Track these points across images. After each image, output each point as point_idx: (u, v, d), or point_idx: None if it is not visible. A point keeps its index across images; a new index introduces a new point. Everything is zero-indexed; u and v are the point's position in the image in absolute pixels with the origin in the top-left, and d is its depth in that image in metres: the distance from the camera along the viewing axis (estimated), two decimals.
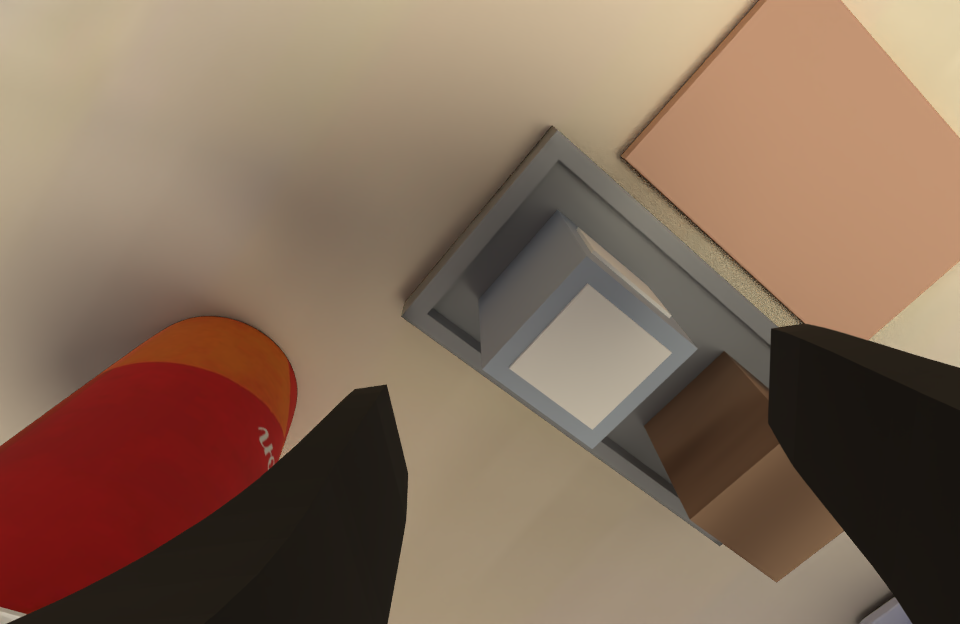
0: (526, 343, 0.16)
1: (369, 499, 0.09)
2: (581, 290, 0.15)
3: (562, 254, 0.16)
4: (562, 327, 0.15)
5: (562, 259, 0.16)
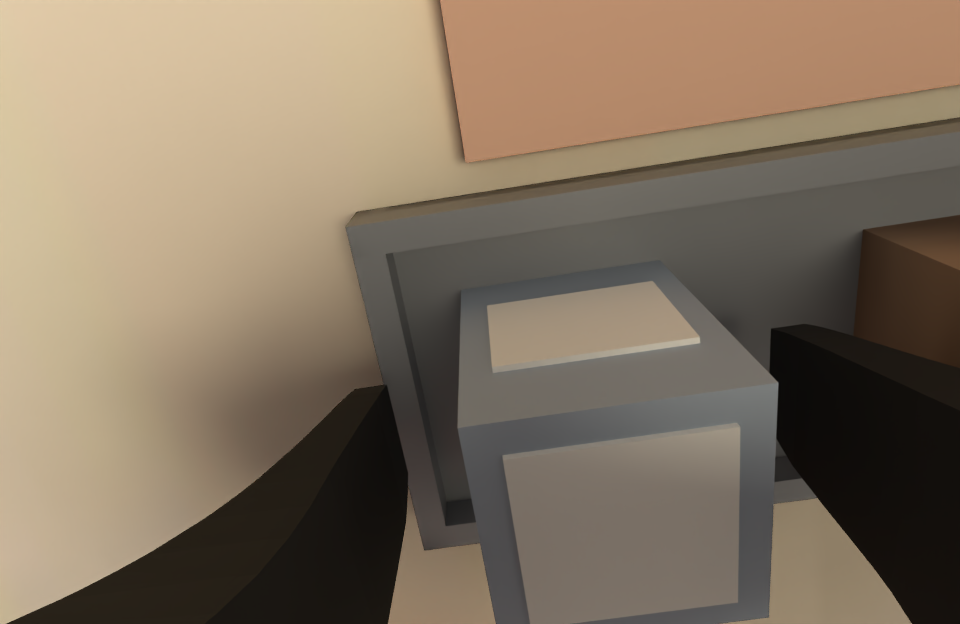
0: (517, 583, 0.09)
1: (370, 499, 0.09)
2: (504, 471, 0.08)
3: None
4: (537, 533, 0.08)
5: None
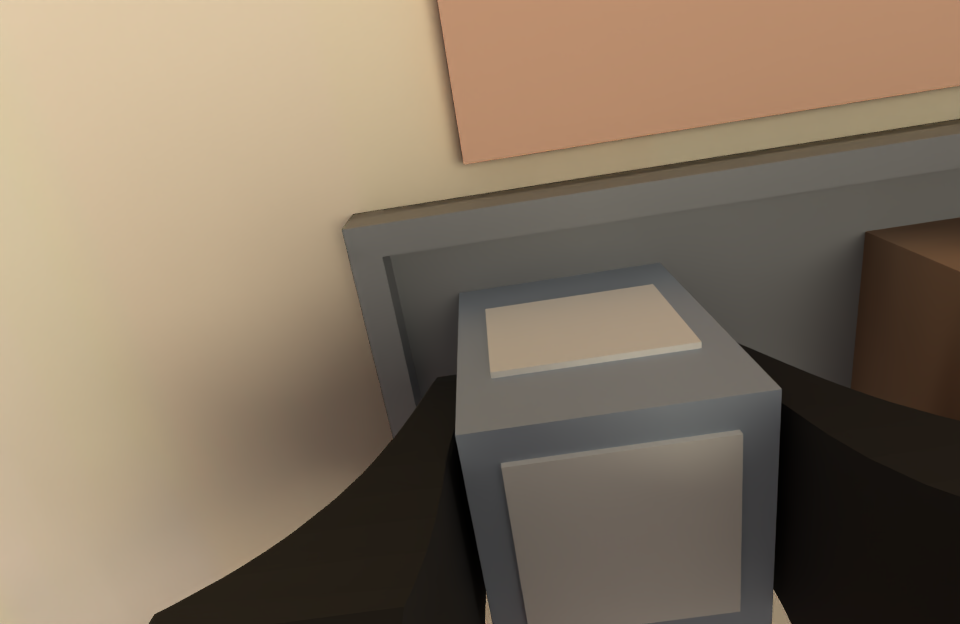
0: (516, 592, 0.08)
1: None
2: (502, 479, 0.08)
3: None
4: (536, 541, 0.08)
5: None
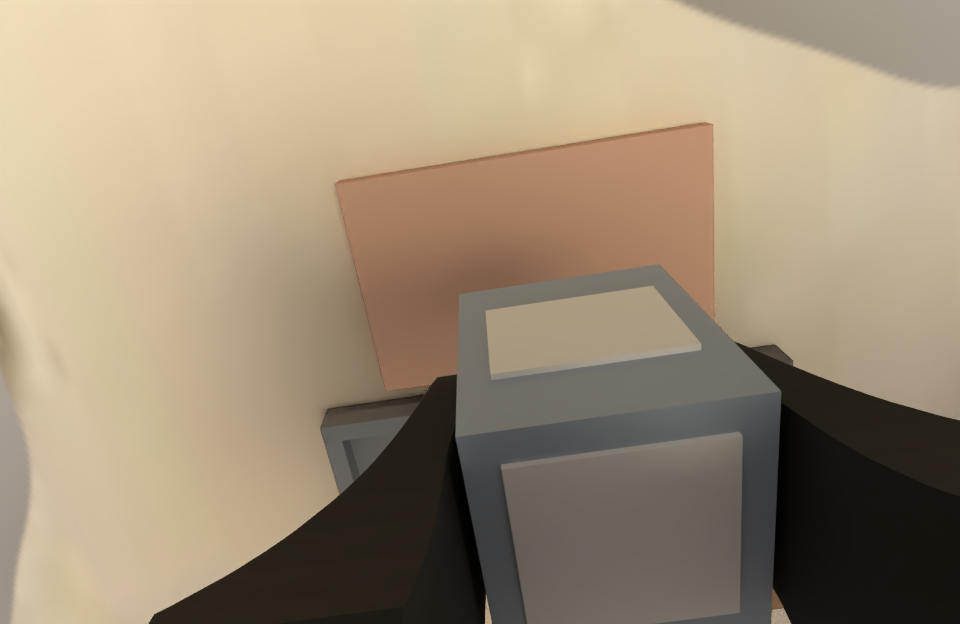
0: (515, 593, 0.09)
1: None
2: (503, 480, 0.08)
3: None
4: (536, 543, 0.08)
5: None
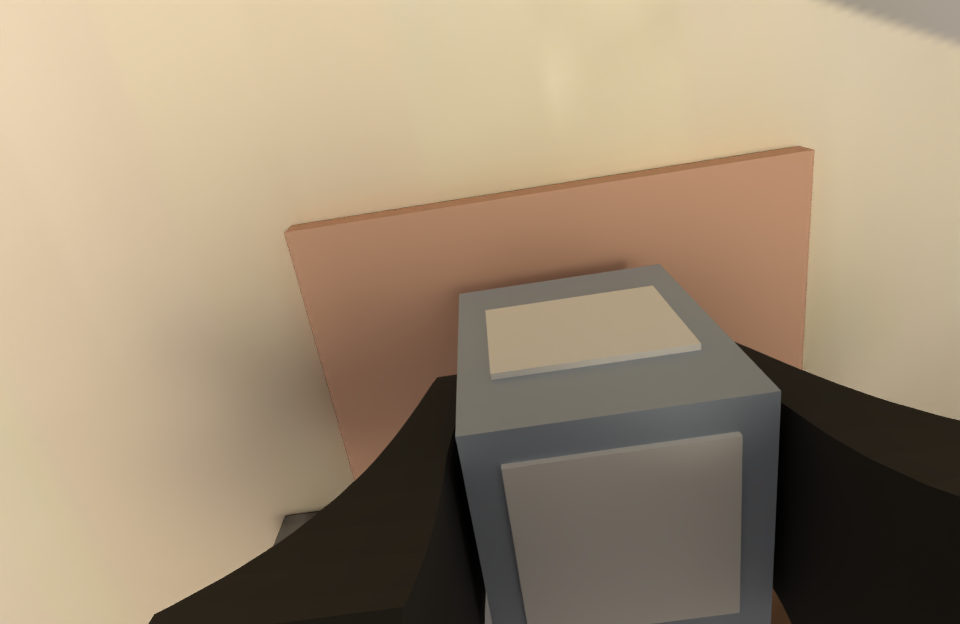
0: (515, 593, 0.09)
1: None
2: (503, 480, 0.08)
3: None
4: (536, 542, 0.08)
5: None
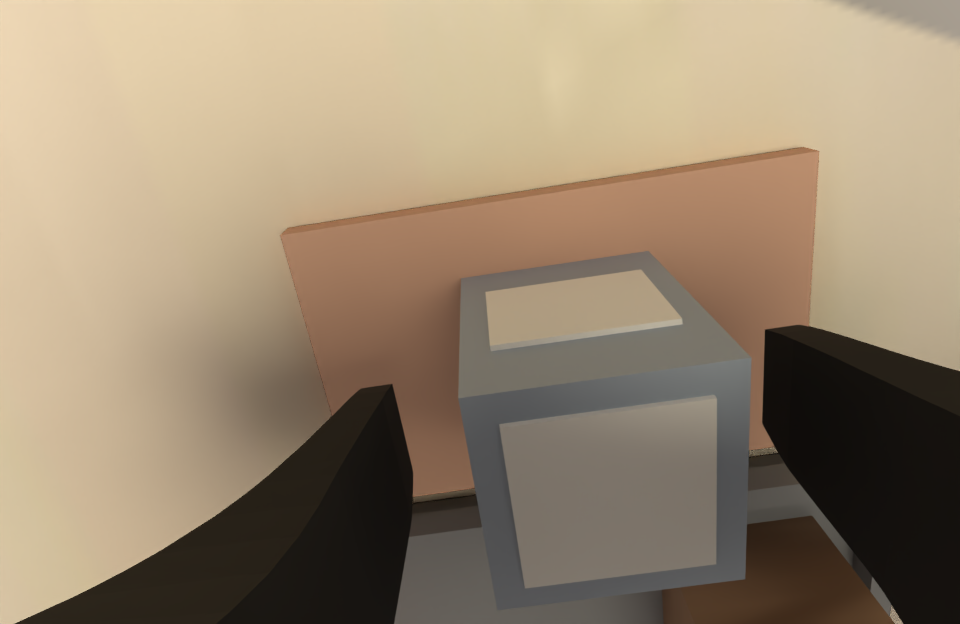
0: (511, 545, 0.09)
1: (376, 499, 0.09)
2: (501, 438, 0.09)
3: None
4: (531, 497, 0.09)
5: None
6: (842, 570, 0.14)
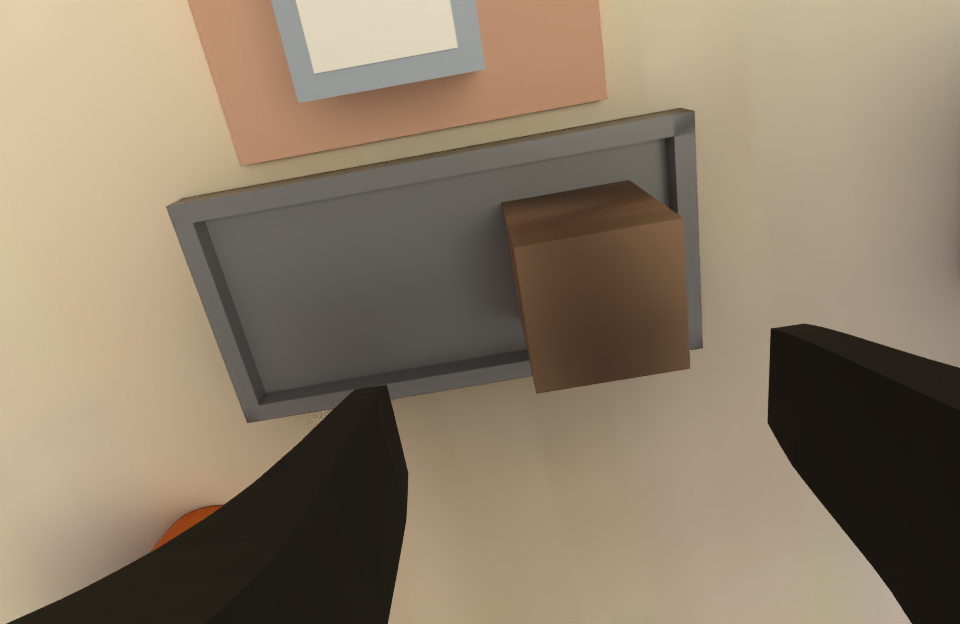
0: (299, 31, 0.12)
1: (370, 499, 0.09)
2: None
3: None
4: None
5: None
6: (636, 193, 0.17)
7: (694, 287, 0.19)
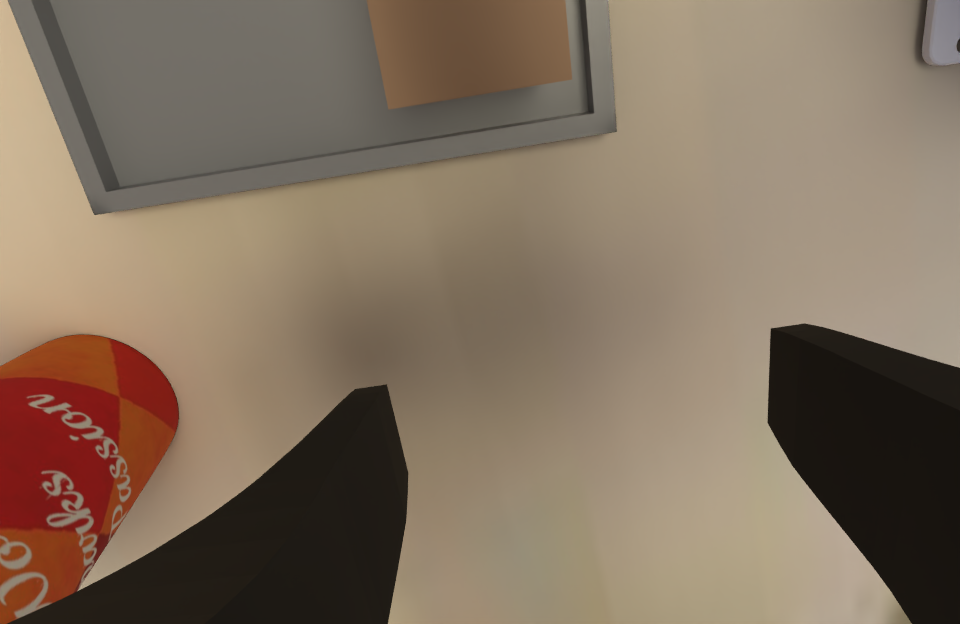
0: None
1: (369, 499, 0.09)
2: None
3: None
4: None
5: None
6: None
7: (604, 50, 0.17)
